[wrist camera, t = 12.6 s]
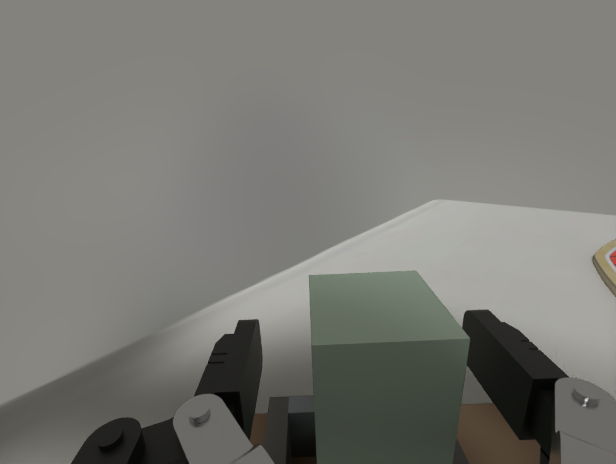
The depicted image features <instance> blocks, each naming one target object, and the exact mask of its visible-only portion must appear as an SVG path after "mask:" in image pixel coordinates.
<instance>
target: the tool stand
mask: <svg viewBox="0 0 616 464" xmlns="http://www.w3.org/2000/svg"><path fill="white" fill-rule="evenodd" d="M250 443H251V444H252V445H253V446H255V445H257V444H260V445H261V446H262V447H263V448H264V449H265V451H266V452H267V453H268V455H269V456H270V458H271V459H272V461H273V462H274V464H317V455H316V433H315V411H314V395H313V396H291V397H270V400H269V408H268V413H266V414H254V419H253V425H252V430H251V436H250ZM539 446H540V445H539V443H538V442H537V441H536V440H519V439H518V437H517V436H516V435H515V433H514V432H513V430H512V429H511V427H510V426H509V425H508V423H507V422H506V420H505V419H504V417H503V416H502V415H501V413H500V412H499V410H498V409H497V407H496V406H495V404H494V403H488V404H466V405H461V408H460V415H459V422H458V429H457V436H456V443H455V450H454V457H453V464H537V456H538V450H539Z"/></svg>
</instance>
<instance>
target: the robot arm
mask: <svg viewBox="0 0 616 464" xmlns="http://www.w3.org/2000/svg"><path fill="white" fill-rule="evenodd" d="M462 329H463V330H464V331H465V333H466V334H467V335H468V336H469V338H470V343H469V351H468V358H467V366H468V367H469V369H470V370H471V371H472V373H473V374H474V376H475V377H476V379H477V380H478V382H479V383H480V384H481V386H482V387H483V389H484V390H485V392H486V393H487V394H488V396H489V397H490V399H491V400H492V402H493V403H494V404H495V406H496V407H497V409H498V410H499V412H500V413H501V415H502V416H503V417H504V419H505V420H506V422H507V423H508V425H509V426H510V427H511V429H512V430H513V432H514V433H515V435H516V436H517V437H518V439H519V440H536V441H537V442H538V443H539V445H540V446H539V450H538V456H537V464H616V400H615V399H614V398H613V397H612V396H611V395H610V394H609V393H607V392H606V391H605V390H603V389H601V388H600V387H598V386H596V385H594V384H592V383H590V382H587V381H584V380H581V379H577V378H570V377H568V376H567V375H566V374H565V373H564V372H563V371H562V370H561V369H560V368H559V367H558V366H557V365H556V364H554V363H553V362H552V361H551V360H550V359H549V358H548V357H547V356H546V355H545V354H544V353H543V352H542V351H540V350H538V348H537V347H536V346H535V345H534V344H533V343H532V342H529V339H528V338H527V337H525V336H524V335H523V334H522V333H521V332H520V331H519V330H517V329H516V328H514V327H512V326H510V325H508V324H507V323H505V322H501V321H500V320H499V319H498V318H497V317H495V316H494V315H493V314H492V313H491V312H490V311H489V310H468V311H466V312H465V314H464V318H463V326H462ZM261 372H262V345H261V336H260V326H259V321H258V319H255V320H239V321H238V323H237V326H236V329H235V332H234V334H224V335H223V336H222V337H221V338H220V339H219V340H218V341H217V342H216V344H215V346H214V349H213V351H212V353H211V356H210V358H209V361H208V364H207V366H206V368H205V371H204V373H203V375H202V378H201V380H200V383H199V385H198V388H197V390H196V393H195V395H194V397H193V398H191V399H189V400H187V401H186V402H185V403H184V404H182V405H181V406H180V408H179V409H178V410H177V412H176V413H175V416H174V417H173V418H171V419H169V420H166V421H164V422H161V423H158V424H154V425H151V426H148V427H145V428H142V429H141V426H140V423H139V422H138V421H137V420H136V419H133V418H119V419H116V420H113V421H110V422H108V423H106V424H104V425H103V426H101V427H100V428H98V429H97V430H96V431H94V432H93V433H92V434H91V435H90V436H89V437H88V438H87V440H86V441H85V442H84V444H83V445H82V447H81V449H80V450H79V452H78V453H77V455H76V456H75V458H74V460H73V461H72V463H71V464H274V462H273V461H272V459H271V458H270V456H269V455H268V453H267V452H266V451H265V449H264V448H263V447H262V446H261V445H260V444H257V445H255V446H253V445H252V444H251V443H250V436H251V430H252V425H253V419H254V413H255V407H256V401H257V395H258V389H259V383H260V378H261Z"/></svg>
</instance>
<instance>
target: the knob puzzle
mask: <svg viewBox="0 0 616 464" xmlns="http://www.w3.org/2000/svg"><path fill="white" fill-rule="evenodd" d="M593 264H594V266H595V268H596V270H597V272H598V274H599V275H600V277H601V279H602V280H603V281H604V283H605V284H606V286H607V287H608V288H609V290H610V291H611V292H612V293H613V295H614V296H615V297H616V239H615V240H613V241H611V242H609V243H608V244H606V245H605V246H603V247H602V248H600V249H599V250H598V251H597V252H596V253H595V255H594V259H593Z"/></svg>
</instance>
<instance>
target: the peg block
mask: <svg viewBox="0 0 616 464" xmlns="http://www.w3.org/2000/svg"><path fill="white" fill-rule="evenodd" d="M309 291H310V318H311V346H312V367H313V389H314V411H315V433H316V455H317V464H453V457H454V450H455V443H456V436H457V429H458V422H459V415H460V408H461V400H462V393H463V386H464V379H465V372H466V365H467V358H468V351H469V343H470V338H469V336H468V335H467V334H466V333H465V331H464V330H463V329H462V328H461V326H460V325H459V324H458V323H457V321H456V320H455V319H454V318H453V316H452V315H451V314H450V313H449V311H448V310H447V309H446V308H445V306H444V305H443V304H442V302H441V301H440V300H439V299H438V297H437V296H436V295H435V294H434V292H433V291H432V290H431V289H430V287H429V286H428V285H427V284H426V282H425V281H424V280H423V279H422V277H421V276H420V275H419V274H418V272H417V271H396V272H374V273H351V274H328V275H309Z"/></svg>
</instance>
